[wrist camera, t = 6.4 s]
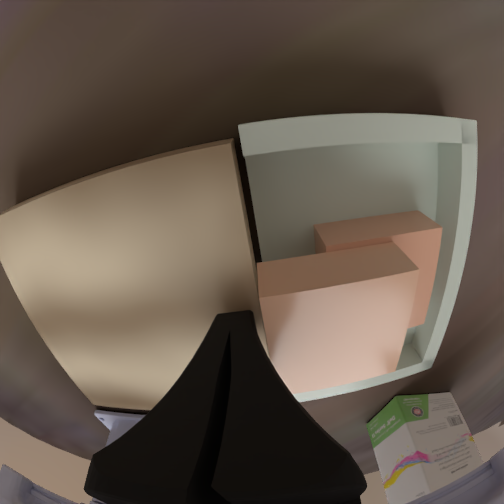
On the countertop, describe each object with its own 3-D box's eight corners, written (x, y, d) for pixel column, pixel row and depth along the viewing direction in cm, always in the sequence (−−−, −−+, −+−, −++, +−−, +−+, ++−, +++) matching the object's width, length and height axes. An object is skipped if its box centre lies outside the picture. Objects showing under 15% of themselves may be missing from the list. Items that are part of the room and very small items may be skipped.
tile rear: (407, 299, 13) (423, 323, 11) (318, 319, 13) (327, 347, 12) (417, 210, 11) (442, 227, 9) (313, 224, 11) (325, 246, 9)
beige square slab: (274, 371, 16) (277, 405, 14) (104, 378, 16) (93, 404, 14) (233, 138, 10) (229, 143, 8) (15, 204, 11) (-15, 222, 8)
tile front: (380, 339, 12) (395, 371, 10) (273, 360, 12) (276, 396, 10) (393, 241, 9) (419, 269, 8) (256, 262, 10) (259, 297, 8)
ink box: (362, 424, 20) (394, 561, 7) (395, 393, 18) (445, 547, 5) (422, 418, 22) (459, 526, 8) (452, 390, 20) (501, 504, 6)
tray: (417, 344, 16) (431, 367, 14) (280, 375, 16) (283, 404, 14) (445, 116, 9) (476, 120, 7) (239, 124, 10) (237, 125, 8)
